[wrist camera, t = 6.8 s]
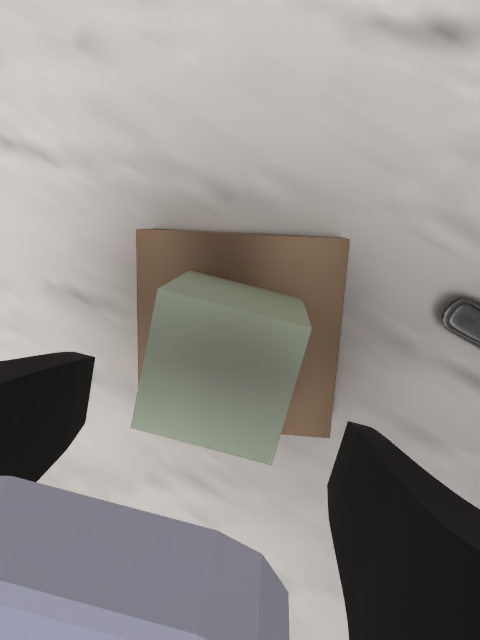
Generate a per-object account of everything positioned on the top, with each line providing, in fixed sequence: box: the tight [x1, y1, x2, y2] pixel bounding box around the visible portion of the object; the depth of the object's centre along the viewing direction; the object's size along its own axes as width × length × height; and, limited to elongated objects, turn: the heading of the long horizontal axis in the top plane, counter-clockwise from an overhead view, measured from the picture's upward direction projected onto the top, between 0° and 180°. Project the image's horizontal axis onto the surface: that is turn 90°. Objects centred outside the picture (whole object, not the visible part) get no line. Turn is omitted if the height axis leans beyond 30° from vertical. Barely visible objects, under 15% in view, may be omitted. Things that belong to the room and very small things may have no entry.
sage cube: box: [131, 270, 312, 465], centre depth 16 cm, size 5×5×5 cm
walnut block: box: [136, 229, 350, 438], centre depth 20 cm, size 9×9×3 cm
